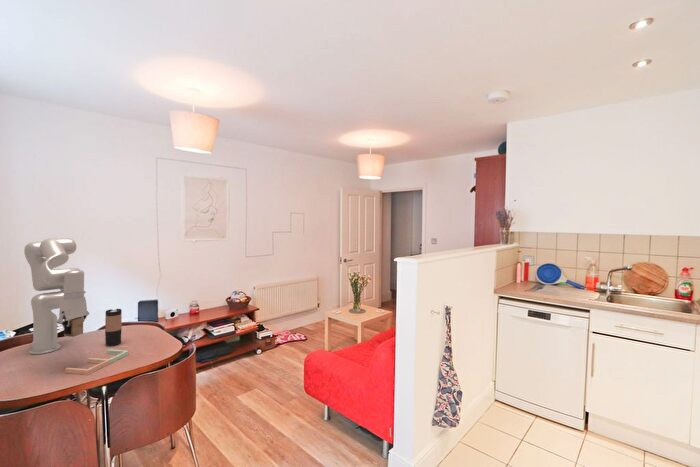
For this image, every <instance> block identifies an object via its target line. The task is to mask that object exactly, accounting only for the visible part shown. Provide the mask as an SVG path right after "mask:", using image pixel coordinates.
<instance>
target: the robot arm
mask: <svg viewBox="0 0 700 467" xmlns="http://www.w3.org/2000/svg"><path fill="white" fill-rule="evenodd" d="M76 251H77V243H76V241H75V240H74V239H72V238H69V237H68V238H65V237H64V238H63V237H61V238H57V237H56V238H47V239H43V240H42V241H35V242H29V243H27V244H25V246H24V256H25V260H26V261H27V263H28V265H29V267H30V270H31V271H30V272H31V273H30V274H31V281H32V287H33V290H35V291H36V292H43V293H38V294H36V295H34V296H32V298H31V299H30V300H31V301H30V305H31V310H32V317H33V320H32V321H33V322H32V324H33V325H32V326H33V327H32V329H33V330H32V331H33V334H32V335H33V336H32V337H33V338H32V342H31V343H28V346H29V347H31V349H29V351H28V353H29V354H30V355H43V354H48V353H51V352H55V351H57V350H59V349H61V348H62V345H61V344H60V343H58V324H60V325H61V326H63V335H64V334H71V326H70V323H71V320H72V319H76V318H79V317H83V323H85V321H86V319H87V317H88V316H89V315H90V312H89V311H88V309H87V308H88V306H87V300H86V299H87V298H86V297H85V294H86V293H87V292H86V291H85V272H84V270H82V269H80V268H78V267H70V268H59V267H60V266H63V265H65V264H66V263H67V262H68V261H69V258H70V257H69V255H72V254H74V253H75V252H76ZM55 268H56V269H55ZM54 290H59V291H54ZM47 291H48V292H47ZM49 291H52V292H49ZM58 309H59V312H58V315H57V314H56V313H54V312H53V311H52V310H58ZM67 321H68V322H67Z"/></svg>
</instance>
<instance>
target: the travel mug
mask: <svg viewBox="0 0 700 467" xmlns="http://www.w3.org/2000/svg"><path fill="white" fill-rule="evenodd" d="M122 312H123V311H122V309H121V308H116V309H107V310H105V321H104V322H105V323H104V324H105V326H104V328H105V329H104V330H105V332H104V334H105V335H104V336H105V337H104V338H105V339H104V340H105V346H106V347H116V346H119V345H120V344H121V343H122V326H123V325H122V317H123V316H122Z"/></svg>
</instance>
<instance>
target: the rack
mask: <svg viewBox="0 0 700 467" xmlns="http://www.w3.org/2000/svg"><path fill="white" fill-rule="evenodd" d="M129 352H130V351H129V350H122V349H111V348H107V350H106V354H107V355H115V356H113V357H110V358H97V357H96V358H95V357H89V358H88V357H87V359H86V362H87V364H96V365H94V366H92V367H89V368H88V369H87V368H78V367H77V368H76V367H75V368H74V367H66V368H64V373H65V374H73V375H84V376H85V375H87V376H88V375H90V374H92V373H94V372H96V371H99V370H100V369H102V368H104V367H106V366H108V365H111V364H113V363H114V362H116V361H119V360H120V359H122V358H124V357H126V356H128V355H129V354H130V353H129ZM129 356H130V355H129Z"/></svg>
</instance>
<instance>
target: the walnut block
mask: <svg viewBox="0 0 700 467" xmlns="http://www.w3.org/2000/svg"><path fill="white" fill-rule="evenodd" d="M67 322H68V321H67ZM70 326H71V334H64V333H63V335H64V337H69V338H71V337H72V338H73V337H76V336H79V335H83V334H84V322H83V317H79V318H76V319H72V320H71V323H70Z"/></svg>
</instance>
